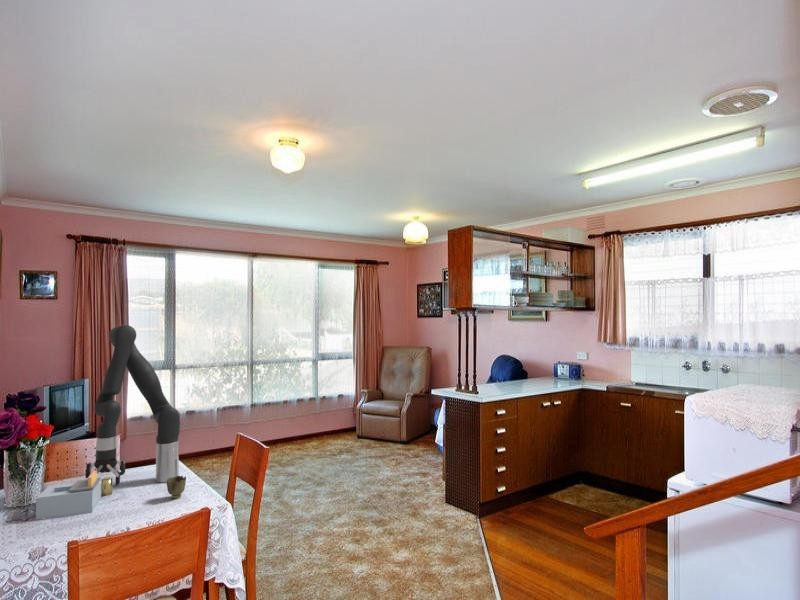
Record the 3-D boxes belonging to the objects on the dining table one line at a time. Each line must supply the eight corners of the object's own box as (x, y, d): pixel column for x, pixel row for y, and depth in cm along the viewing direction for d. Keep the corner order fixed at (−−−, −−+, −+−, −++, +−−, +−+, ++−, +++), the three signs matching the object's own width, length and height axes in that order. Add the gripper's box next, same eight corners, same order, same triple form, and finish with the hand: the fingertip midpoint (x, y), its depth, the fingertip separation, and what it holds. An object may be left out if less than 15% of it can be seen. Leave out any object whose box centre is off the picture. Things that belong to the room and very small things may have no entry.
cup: (162, 499, 197) (162, 479, 197) (178, 493, 203) (178, 474, 204) (174, 502, 193) (174, 482, 194) (190, 496, 200) (190, 476, 200)
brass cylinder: (113, 492, 206) (113, 476, 206) (111, 495, 202) (111, 479, 203) (102, 493, 205) (102, 478, 205) (100, 496, 201) (100, 480, 201)
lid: (100, 479, 197) (100, 469, 197) (93, 489, 186) (93, 478, 186) (77, 482, 194) (77, 471, 194) (68, 492, 183) (68, 481, 183)
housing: (100, 499, 198) (101, 479, 198) (92, 512, 185) (92, 491, 185) (48, 506, 191) (48, 485, 192) (35, 519, 178) (36, 498, 179)
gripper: (127, 444, 210) (126, 481, 210) (89, 446, 206) (88, 485, 205) (123, 448, 203) (122, 487, 203) (84, 451, 199) (83, 491, 198)
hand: (105, 486), depth 204 cm, fingers open, 8 cm apart
